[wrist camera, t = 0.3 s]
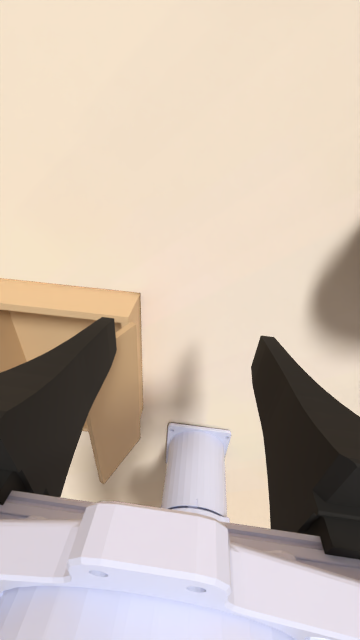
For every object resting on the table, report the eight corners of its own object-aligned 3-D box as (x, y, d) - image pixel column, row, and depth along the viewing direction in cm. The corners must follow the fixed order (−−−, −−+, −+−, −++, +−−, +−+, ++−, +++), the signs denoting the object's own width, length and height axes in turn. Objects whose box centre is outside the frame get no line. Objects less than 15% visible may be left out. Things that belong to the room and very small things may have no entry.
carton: (142, 407, 32) (135, 437, 29) (38, 394, 32) (18, 422, 29) (140, 292, 23) (128, 317, 20) (-4, 277, 24) (-39, 298, 20)
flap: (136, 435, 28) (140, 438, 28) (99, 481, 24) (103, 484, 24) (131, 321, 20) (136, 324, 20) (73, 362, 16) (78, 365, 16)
